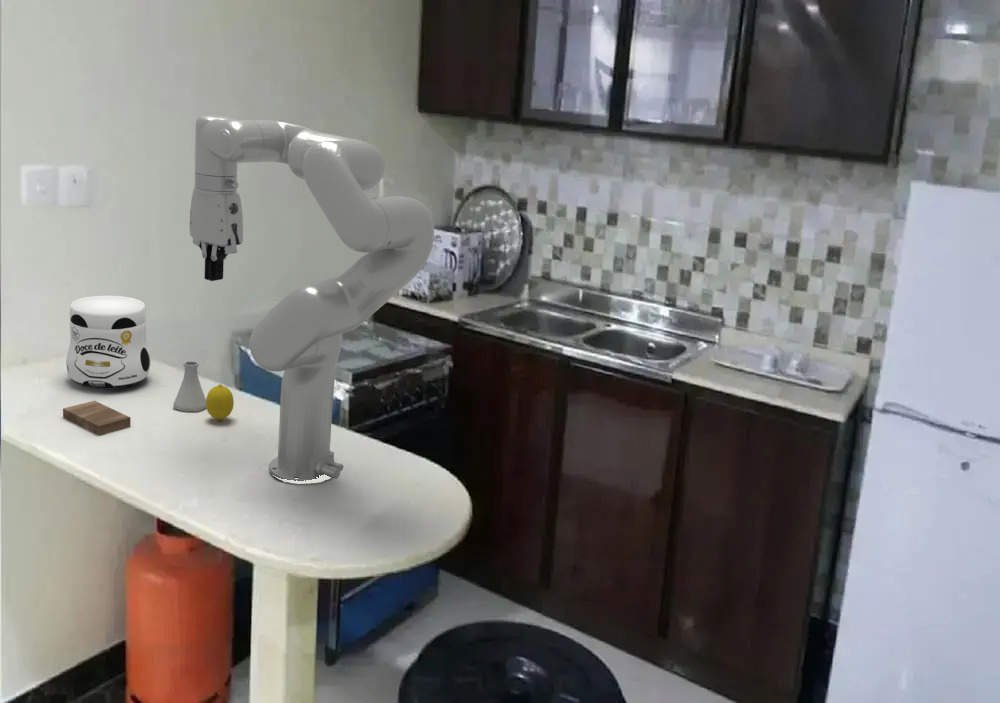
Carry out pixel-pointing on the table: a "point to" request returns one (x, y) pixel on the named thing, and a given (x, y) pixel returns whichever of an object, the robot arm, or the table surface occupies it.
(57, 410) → the table surface
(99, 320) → the milk container
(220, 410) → the lemon
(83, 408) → the walnut slab
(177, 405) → the flask
